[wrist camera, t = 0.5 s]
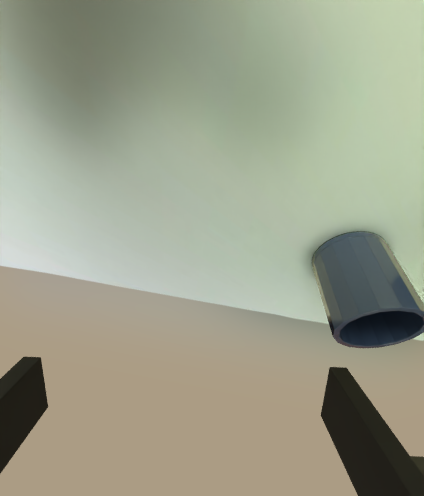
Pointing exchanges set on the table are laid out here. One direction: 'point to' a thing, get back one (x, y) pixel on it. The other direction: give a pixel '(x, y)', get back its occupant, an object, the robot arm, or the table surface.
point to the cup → (366, 292)
